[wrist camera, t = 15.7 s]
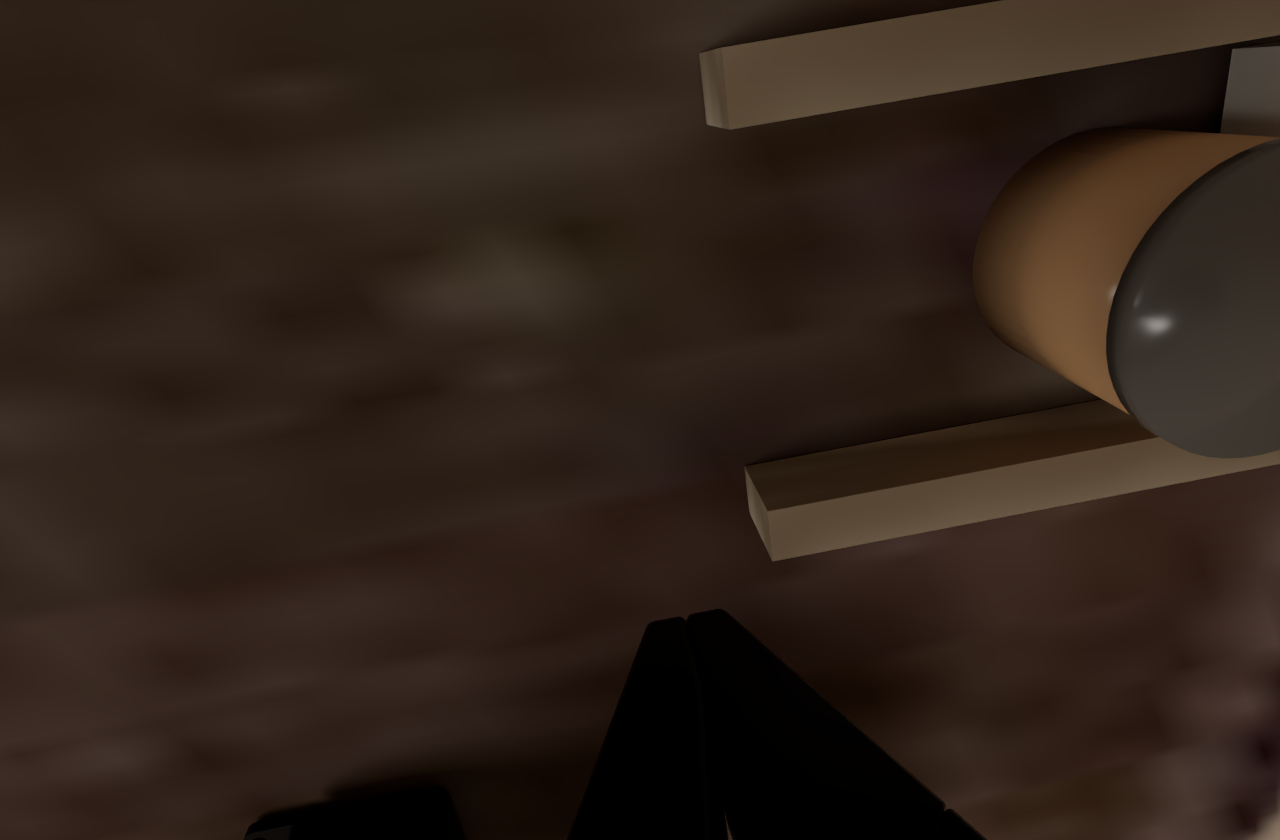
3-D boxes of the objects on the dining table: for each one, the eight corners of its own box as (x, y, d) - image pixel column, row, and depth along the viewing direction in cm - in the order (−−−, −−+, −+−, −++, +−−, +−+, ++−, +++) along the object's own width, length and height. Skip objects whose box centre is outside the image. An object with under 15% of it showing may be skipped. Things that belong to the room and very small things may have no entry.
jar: (1185, 337, 21) (1406, 422, 16) (969, 384, 21) (1115, 486, 16) (1212, 99, 19) (1486, 102, 13) (967, 150, 19) (1140, 176, 13)
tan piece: (1340, 399, 23) (1429, 435, 20) (749, 512, 22) (772, 561, 20) (1454, -74, 18) (1589, -99, 15) (698, 53, 17) (721, 47, 15)
